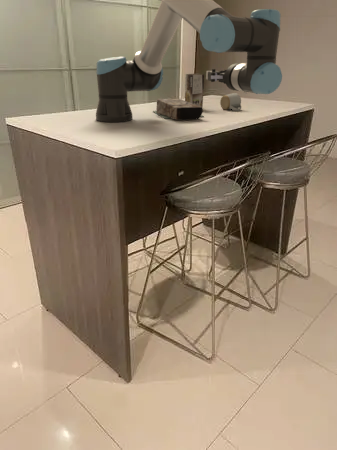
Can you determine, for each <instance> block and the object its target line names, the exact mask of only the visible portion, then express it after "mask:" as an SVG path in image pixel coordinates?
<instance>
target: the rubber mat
mask: <svg viewBox="0 0 337 450" xmlns="http://www.w3.org/2000/svg"><path fill="white" fill-rule="evenodd" d="M156 112H157V110H152V113H154V114H156V116H160V117H161V118H163V119H165V120H169V119H171V120H172V119H173V118H170V117H167V116H164V115H160V114H157V113H156ZM200 118H205V115H203V114H202V115H201V117H200ZM173 120H174V119H173Z"/></svg>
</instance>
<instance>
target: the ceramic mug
mask: <svg viewBox="0 0 337 450" xmlns="http://www.w3.org/2000/svg"><path fill="white" fill-rule="evenodd" d="M219 103H220V107H221V108H222V109H223V110H225V111H229V110H230V111H231V109H232V111H233V112H240V111H241V110H242V105H241V104H242V98H241V96H240V94H239V93H236V92H234V93H233V92H232V93H229V94H225V95H223V96H221V98H220V102H219Z"/></svg>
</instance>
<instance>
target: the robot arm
mask: <svg viewBox="0 0 337 450" xmlns="http://www.w3.org/2000/svg"><path fill="white" fill-rule="evenodd" d="M159 1H160V4H159V6H158V8H157V11H156V14H155V16H154V19H153V21H152V24H151V26H150V29H149V31H148V33H147V36H146V38H145V41H144V43H143V45H142V48H141V50H139V51H137V52H136V53H135V55H134V57H133V59H132V60H127V59H126V56H115V57H113V56H112V57H106V58H100V59H99V60H97V62H96V72H95V73H96V80H97V92H98V93H97V95H98V102H97V106H96V112H95V120H96V121H98V122H104V123H106V122H107V123H121V122H122V123H124V122H129V121H132V120H133V112H132V109H131V106H130V103H129V100H128V92H129V93H130V92H150V91H155V90H157V89H158V88H159V87H161V84H162V82H163V76H164V67H163V65H162V60H163V59H164V57H165V54H166V53H167V51H168V49H169V47H170V44H171V43H172V40H173V39H174V36H175V34H176V31H177V29H178V28H179V26H180V24H181V21H182V19H183V20H184V21H185V22H186V23H187V24H189V25H190V27H192V28H193V29H194V30H195V31H196V32H197V33H199V39H200V42H201V46H202V47H203V48H204V50H206V51H208V52H215V53H217V54H218V53H219V54H220V53H246V62H235V63H233V64H231V65H230V66H228V68H227V69H224V70H219V71H218V70H216V69H215V68H214V69H211V70H206V71H205V72H206V73H205V75H206V77H205V80H207V81H209V82H211V83H214V82H217V81H218V82H219V83H223V84H225V85H226V87H227V88H228V89H229V90H231V91H236V92H243V94H244V95H245V94H248V93H251V94H256V95H269V94H272V93H274V92H275V91H277V89H278V88H279V87H280V85H281V84H282V80H283V73H282V70H281V67H280V66H279V65H278V64H277V53H278V46H279V37H280V31H281V17H282V16H281V12H280V10H278V9H274V8H273V9H272V8H270V9H269V8H264V9H263V8H262V9H255V10H253V11H252V12H251V13H250V16H249V17H246V16H245V17H244V16H235V15H232V14H231V13H230V12H229V11H227V10H225V9H224V8H223V7H222V6H221V5H219V4H218V3H217V2H215V1H214V0H159Z"/></svg>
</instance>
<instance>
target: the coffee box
mask: <svg viewBox="0 0 337 450" xmlns="http://www.w3.org/2000/svg"><path fill="white" fill-rule="evenodd" d="M184 83H185V84H184V101H187V102H189V103H192V104H194V105H197V106H199V107H202V108H203V109H204V107H203V104H204V87H205V74H202V73H185V82H184Z"/></svg>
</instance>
